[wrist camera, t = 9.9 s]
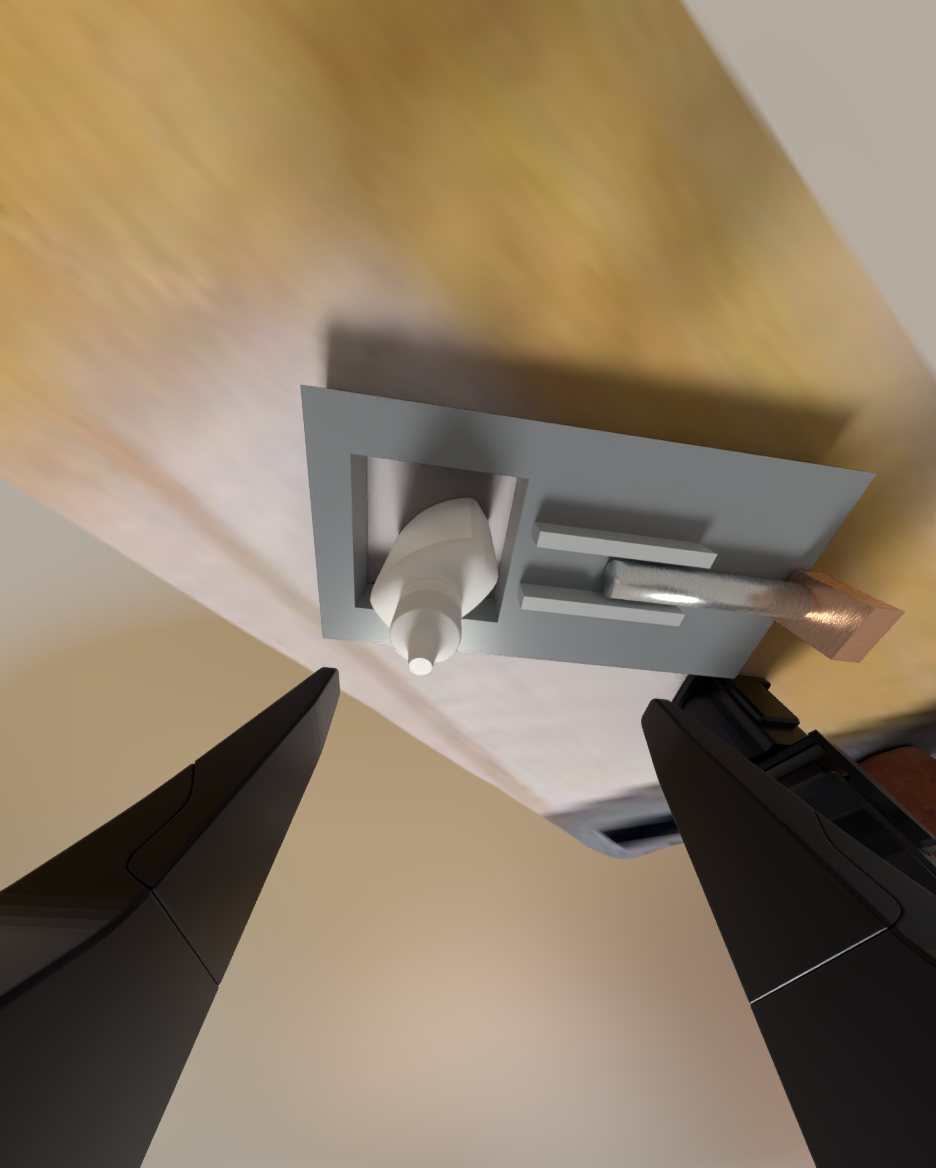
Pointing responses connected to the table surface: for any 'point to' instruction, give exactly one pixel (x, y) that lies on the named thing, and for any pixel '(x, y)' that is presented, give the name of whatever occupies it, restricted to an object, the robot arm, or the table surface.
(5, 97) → the table surface
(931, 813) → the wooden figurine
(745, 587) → the lock pin
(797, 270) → the table surface
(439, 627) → the eye dropper bottle
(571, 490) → the dock block
